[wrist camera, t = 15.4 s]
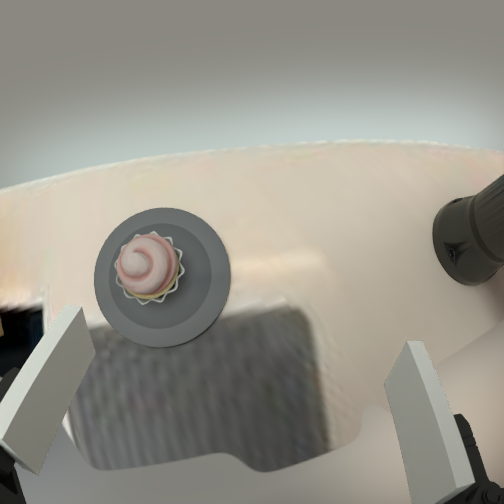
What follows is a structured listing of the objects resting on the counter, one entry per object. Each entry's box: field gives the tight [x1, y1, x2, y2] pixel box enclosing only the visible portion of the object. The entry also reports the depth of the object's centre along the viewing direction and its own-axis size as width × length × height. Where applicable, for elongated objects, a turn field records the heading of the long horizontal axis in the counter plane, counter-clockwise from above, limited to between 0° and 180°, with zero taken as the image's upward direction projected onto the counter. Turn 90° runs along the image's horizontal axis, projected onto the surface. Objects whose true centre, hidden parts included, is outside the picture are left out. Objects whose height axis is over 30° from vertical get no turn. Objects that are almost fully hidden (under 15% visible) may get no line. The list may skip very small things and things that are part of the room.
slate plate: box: [94, 208, 230, 347], centre depth 44 cm, size 20×20×1 cm
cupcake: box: [114, 231, 185, 305], centre depth 39 cm, size 9×9×10 cm
